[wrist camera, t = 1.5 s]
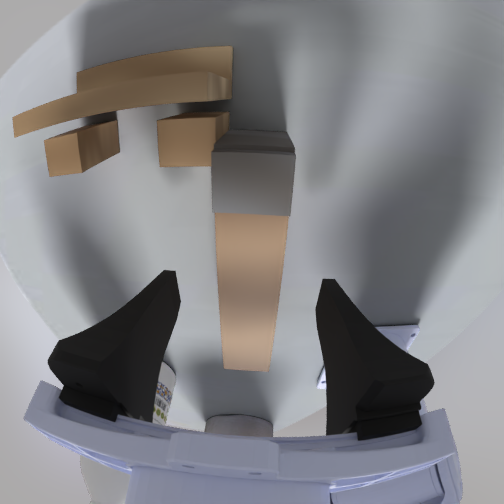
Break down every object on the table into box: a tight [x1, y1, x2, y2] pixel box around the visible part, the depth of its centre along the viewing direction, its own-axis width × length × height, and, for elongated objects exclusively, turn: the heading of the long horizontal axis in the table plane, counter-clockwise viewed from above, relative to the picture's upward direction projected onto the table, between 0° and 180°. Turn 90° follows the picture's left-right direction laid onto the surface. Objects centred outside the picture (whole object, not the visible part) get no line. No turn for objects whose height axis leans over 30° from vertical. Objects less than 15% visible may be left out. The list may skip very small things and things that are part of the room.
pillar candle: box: [205, 415, 273, 437], centre depth 27 cm, size 10×10×15 cm
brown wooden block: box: [211, 130, 296, 372], centre depth 15 cm, size 14×3×5 cm, turn 178°
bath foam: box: [80, 361, 176, 504], centre depth 18 cm, size 7×7×20 cm
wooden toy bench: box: [13, 46, 233, 177], centre depth 10 cm, size 6×9×6 cm, turn 88°
